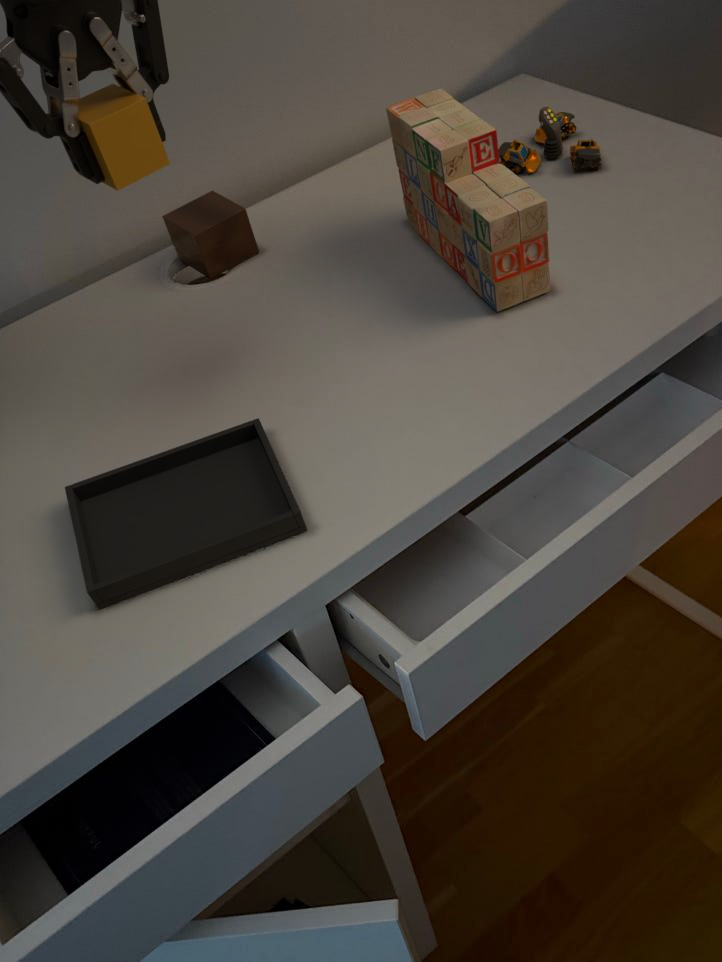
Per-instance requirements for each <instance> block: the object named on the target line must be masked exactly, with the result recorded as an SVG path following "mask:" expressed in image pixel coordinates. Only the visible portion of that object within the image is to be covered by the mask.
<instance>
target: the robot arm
mask: <svg viewBox="0 0 722 962" xmlns="http://www.w3.org/2000/svg"><path fill="white" fill-rule="evenodd" d="M0 6H1V8H2V10H3V13H4V17H5V20H6V21H5V22H6V23H5V24H6V30H5V31H6V37H5V38H4V39H3V40H2V41H1V42H0V94H1V95H2V96H3V98H4V99H5V100H6V102H7V103H8V104H9V105H10V107H11V108H12V109H13V111H14V112H15V114H16V115H17V116H18V118H19V119H20V120H21V121H22V122H23V124H24V126H26V128H27V129H28V130H30V131H31V132H34V133H36V134H38V135H40V136H41V137H43V138H45V139H48V140H49V139H52V138H54V137H59V139H60V141H61V143H62V145H63V148H64V151H65V152H66V154H67V156H68V159H69V160H70V162H71V165H72V168H73V169H74V170H75V172H76V173H77V174H78V175H79V176H82V177H83V178H84V179H87V180H88V181H90V182H92V183H94V184H95V185H99V184H101V183H103V181H105V177H104V174H103V172H102V170H101V168H100V165H99V163H98V161H97V158H96V156H95V154H94V151H93V149H92V147H91V145H90V142H89V140H88V138H87V135H86V133H84V132H82V131H80V120H79V111H78V102H79V101H80V98H81V93H80V84H79V82H81V81H83V80H85V79H86V78H87V77H89V75H91V74H92V73H93V72H101V71H102V72H103V71H106V72H108V73H109V74H110V75H111V77H112V78H113V79H114V81H116V83H117V84H118V86H120V87H122V88H124V89H126V90H129V91H131V92H133V93H135V94H138V95H140V96H142V97H144V98H146V101H147V103H148V106H149V109H150V111H151V114H152V117H153V119H154V122H155V125H156V127H157V130H158V133H159V135H160V138H161V141H162V143H164V142H166V141H167V135H166V130H165V128H164V126H163V122H162V120H161V118H160V114H159V112H158V109H157V107H156V104H155V100H154V95H155V92H156V90H157V89H158V88H159V87H160V86H162V85H166V84H167V83H168V82H169V79H170V71H169V66H168V58H167V52H166V45H165V38H164V33H163V25H162V20H161V13H160V7H159V0H0ZM122 14H123V16H124V18H125V21H126V22H127V23H128V24H130V25H131V31H132V38H133V42H134V48H135V55H136V59H137V64H136V63H135V62H134V61H133V59H132V58H131V56H130V55H129V54H128V53H127V51H126V50H125V48H124V47H123V46H122V44H121V43H120V42H119V36H120V28H121V20H122ZM22 54H23V55H25V56H26V57H27V58H28V59H30V60H31V61H33V62H34V63H35V64H37V65H39V72H40V81H41V86H42V91H43V93H44V95H45V96H46V97H45V98H46V103H47V111H48V113H46V111H45V110H44V108H42V106H41V105H40V103H39V102H38V101H37V99H36V98H35V96H34V95H33V94H32V92H31V90H29V88H28V87H27V86H26V84H25V83H24V81H23V80H22V79H23V77H24V74H25V72H24V67H23V66H22V63H21V55H22ZM163 146H164V147H165V145H164V144H163Z"/></svg>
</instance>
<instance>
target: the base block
mask: <svg viewBox="0 0 722 962" xmlns="http://www.w3.org/2000/svg"><path fill="white" fill-rule="evenodd" d="M162 220H163V222H164V224H165V227H166V231H167V232H168V235H169V237H170V240H171V242H172V246H173V247H174V251H175V252H176V255H177V258H178V260H179V261H181V262H182V263H184V264H185V265H187V266H189V267H190V268H192V269H193V270H195V271H196V272H198V273H200V274H201V275H203V276H204V277H206V278H208V279H209V280H212V279H214V278H216V277H219V276H220V275H221V274H224V273H225V272H227V271H229V270H230V269H232V268H234V267H236V266H237V265H239V264H241V263H243V262H244V261H247V260H248V259H250V258H252V257H253V256H255V255H258V254H259V253H260V250H259V247H258V246H259V245H258V243H257V241H256V237H255V234H254V231H253V228H252V224H251V221H250V218H249V215H248V212H247V209H246V208H245V207H243V206H242V205H240V204H238V203H237V202H235V201H233V200H231V199H229V198H227V197H226V196H223V195H221V194H220V193H218V192H216V191H215V190H211V191H208V192H207V193H204V194H203V195H200V196H199V197H197V198H195V199H193V200H191V201H189V202H187V203H185V204H182V205H181V206H179V207H177V208H175V209H174V210H171V211H169V212H168V213H165V214H163V215H162Z"/></svg>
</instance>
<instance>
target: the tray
mask: <svg viewBox="0 0 722 962" xmlns="http://www.w3.org/2000/svg"><path fill="white" fill-rule="evenodd" d="M274 451H275V450H274V449H273V447H272V445H271V442H270V440H269V438H268V436H267V433H266V431H265V429H264V426H263V424H262V422H261V419H260V418H259V417H257V418H254V419H252V420H249V421H246V422H243V423H240V424H237V425H235V426H232V427H230V428H227V429H224V430H220V431H218V432H215V433H213V434H210V435H209V434H208V435H207V436H204V437H201V438H199V439H195V440H193V441H190V442H187V443H184V444H182V445H179V446H175V447H173V448H170V449H167V450H164V451H162V452H159V453H156V454H153V455H151V456H147V457H144V458H142V459H139V460H137V461H134V462H131V463H128V464H125V465H122V466H120V467H116V468H114V469H111V470H108V471H105V472H103V473H100V474H96V475H94V476H92V477H88V478H85V479H83V480H80V481H77V482H75V483H72V484H69V485H67V486H64V491H65V497H66V500H67V505H68V509H69V514H70V519H71V523H72V528H73V533H74V537H75V543H76V546H77V551H78V556H79V561H80V566H81V570H82V574H83V580H84V583H85V589H86V593H87V595H88V596H89V597H90V599H91V600H92V602H93V603H94V605H95V606H96V607H97V609H98V610H102V609H104V608H107V607H109V606H112V605H114V604H118V603H120V602H123V601H125V600H127V599H130V598H133V597H137V596H139V595H141V594H144V593H146V592H149V591H151V590H154V589H157V588H160V587H162V586H165V585H168V584H170V583H173V582H175V581H178V580H181V579H183V578H186V577H188V576H191V575H193V574H197V573H199V572H203V571H204V570H207V569H209V568H212V567H215V566H218V565H220V564H223V563H225V562H228V561H230V560H231V561H232V560H233V559H236V558H239V557H241V556H244V555H247V554H249V553H252V552H255V551H257V550H260V549H262V548H265V547H268V546H270V545H273V544H276V543H278V542H281V541H284V540H286V539H289V538H291V537H294V536H297V535H299V534H302V533H304V532H308V527H307V525H306V522H305V519H304V517H303V514H302V512H301V509H300V507H299V505H298V503H297V501H296V498H295V496H294V493H293V491H292V489H291V487H290V485H289V483H288V480H287V478H286V475H285V474H284V471H283V469H282V467H281V465H280V463H279V460H278V458H277V455H276V454H275V452H274Z"/></svg>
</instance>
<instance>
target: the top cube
mask: <svg viewBox="0 0 722 962" xmlns="http://www.w3.org/2000/svg"><path fill="white" fill-rule="evenodd" d="M78 111H79V120H80V131H82V132H84V133H86V135H87V138H88V140H89V142H90V145H91V147H92V149H93V151H94V154H95V156H96V158H97V161H98V163H99V165H100V168H101V170H102V172H103V174H104V177H105V181H103V182H102V183H103V184H104V185H106V186H108V187H109V188H112V189H113V190H116V191H117V192H118V191H120V190H123V189H124V188H126V187H128V186H130V185H132V184H134V183H136V182H137V181H140V180H142V179H144V178H146V177H148V176H150V175H151V174H153V173H155V172H158V171H160V170H161V169H163V168H165V167H167V166H169V165H171V162H170V160H169V157H168V153H167V152H166V149H165V145H164V142H162V141H161V138H160V135H159V133H158V130H157V127H156V125H155V122H154V119H153V117H152V114H151V111H150V109H149V106H148V103H147V101H146V98H144V97H142V96H140V95H138V94H135V93H133V92H131V91H129V90H126V89H124V88H122V87H121V86H120V85H117V84H115V83H111V84H109V85H106V86H104V87H102V88H100V89H98V90H96V91H93V92H91V93H89V94H87V95H85V96H82V97H80V101H79V102H78ZM163 145H164V146H163Z"/></svg>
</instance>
